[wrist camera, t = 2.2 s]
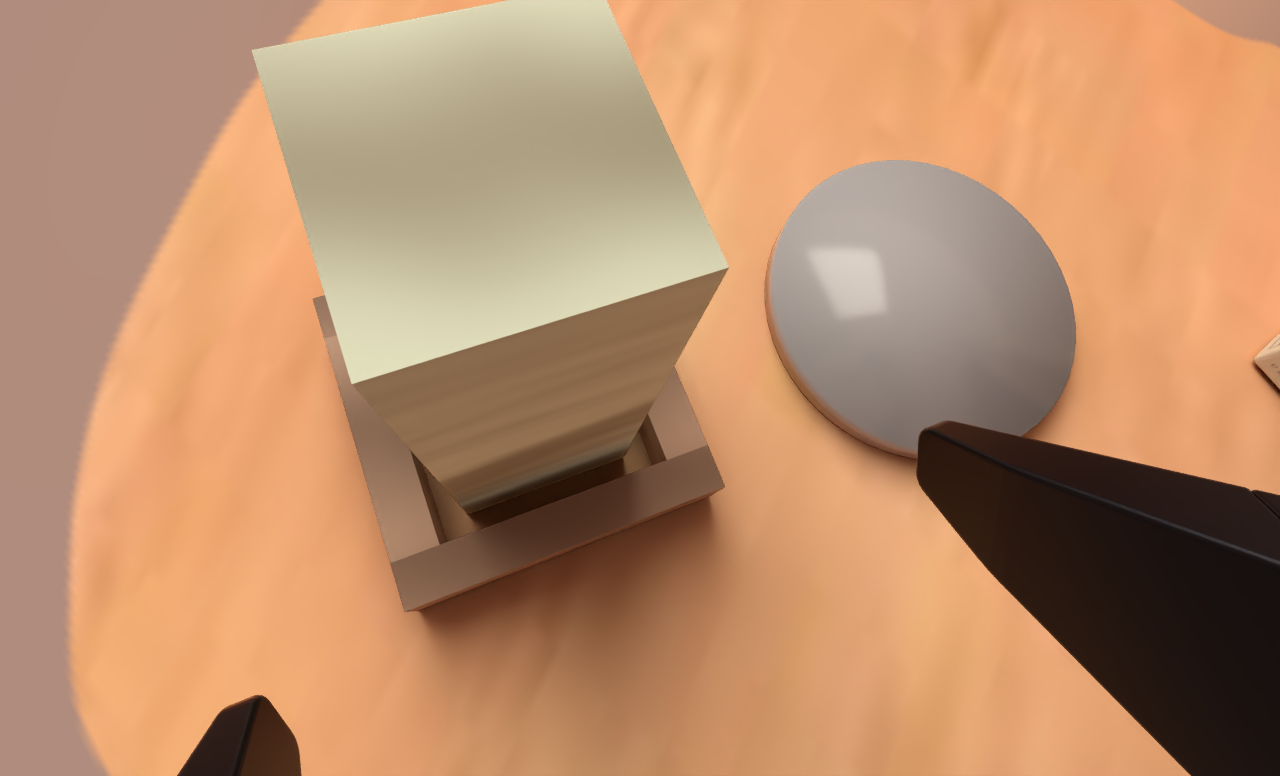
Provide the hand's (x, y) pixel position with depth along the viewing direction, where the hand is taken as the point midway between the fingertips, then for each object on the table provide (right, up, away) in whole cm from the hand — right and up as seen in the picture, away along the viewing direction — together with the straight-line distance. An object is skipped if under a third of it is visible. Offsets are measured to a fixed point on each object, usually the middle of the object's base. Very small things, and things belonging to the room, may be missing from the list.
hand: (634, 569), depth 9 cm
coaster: (+10, +5, +16) cm, 19 cm away
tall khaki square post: (-4, +2, +13) cm, 13 cm away
